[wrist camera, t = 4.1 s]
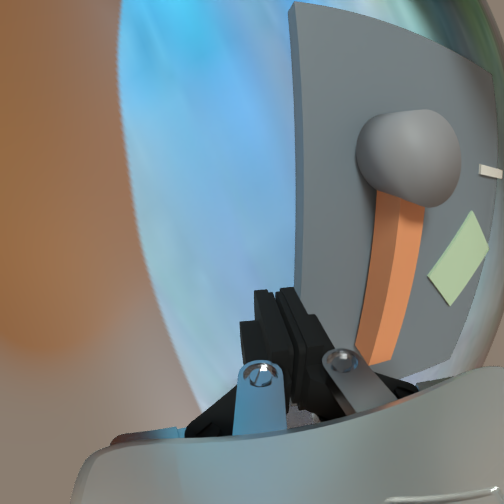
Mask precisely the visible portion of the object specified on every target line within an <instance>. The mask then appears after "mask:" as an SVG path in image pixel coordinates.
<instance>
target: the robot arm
mask: <svg viewBox="0 0 504 504" xmlns="http://www.w3.org/2000/svg"><path fill="white" fill-rule="evenodd" d="M254 311H255V320H254V321H242V322H240V338H241V349H242V357H243V364H244V366H243V367H242V368H241V369H240V371H239V374H238V382H237V385H236V386H235V387H234V388H233V389H231V390H230V391H229V392H228V393H227V394H226V395H224V396H223V397H222V398H221V399H219V400H218V401H217V402H216V403H215V404H213V405H212V406H211V407H210V408H208V409H207V410H206V411H205V412H203V413H202V414H201V415H200V416H198V417H197V418H196V419H195V420H193V421H192V422H191V423H190V424H189V425H188V426H187V427H186V428H181V429H177V427H171V428H165V429H158V430H151V431H143V432H135V433H126V434H121V435H118V436H117V437H115V438H114V439H113V440H112V442H111V443H110V446H108V447H105V448H102V449H100V450H98V451H96V452H94V453H93V454H91V455H90V456H89V457H88V458H87V459H86V460H85V462H84V463H83V465H82V467H81V468H80V471H79V473H78V476H77V478H76V481H75V484H74V488H73V492H72V495H71V500H70V504H504V368H503V367H499V366H487V367H480V368H476V369H472V370H469V371H467V372H464V373H461V374H459V375H456V376H453V377H447V378H442V379H437V380H432V381H426V382H420V383H416V385H415V386H414V385H413V384H411V383H408V382H405V381H402V380H399V379H395V378H392V377H389V376H386V375H382V374H379V373H376V372H373V370H372V369H371V368H370V367H369V366H368V365H367V364H366V363H365V361H364V360H363V359H362V358H361V357H360V356H359V355H358V354H357V353H356V352H354V351H352V350H349V349H345V348H337V349H335V347H334V346H333V344H332V342H331V340H330V339H329V337H328V335H327V333H326V332H325V330H324V328H323V326H322V324H321V323H320V321H319V319H318V317H317V316H316V315H315V314H308V313H307V311H306V309H305V308H304V306H303V304H302V302H301V300H300V298H299V296H298V295H297V293H296V291H295V289H294V287H287V288H280V292H276V294H275V297H274V295H273V293H272V292H269V293H268V290H267V289H266V290H254ZM290 398H291V402H292V404H296V403H297V406H298V409H299V410H307V411H310V412H312V418H313V421H314V422H315V424H311V425H306V426H301V427H295V428H290V429H287V422H286V414H287V413H288V411H289V402H290Z"/></svg>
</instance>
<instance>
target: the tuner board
mask: <svg viewBox="0 0 504 504" xmlns="http://www.w3.org/2000/svg"><path fill="white" fill-rule="evenodd" d="M288 20H289V32H290V44H291V59H292V75H293V94H294V119H295V158H296V232H295V273H294V289H295V291H296V293H297V295H298V296H299V298H300V300H301V302H302V304H303V306H304V308H305V309H306V311H307V313H308V314H315V315H316V316H317V317H318V319H319V321H320V323H321V324H322V326H323V328H324V330H325V332H326V333H327V335H328V337H329V339H330V340H331V342H332V344H333V346H334V347H335V349H337V348H345V349H349V350H352V351H354V352H356V353H357V354H358V355H359V356H360V357H361V358H362V359H363V360H364V358H363V357H362V355H361V354H360V352H359V350H358V349H357V347H356V346H355V343H356V338H357V334H358V329H359V324H360V319H361V314H362V309H363V304H364V298H365V292H366V286H367V280H368V274H369V267H370V259H371V251H372V243H373V233H374V223H375V211H376V196H377V190H376V189H374V188H373V187H372V186H370V185H369V184H368V182H367V181H366V180H365V178H364V177H363V175H362V173H361V171H360V169H359V166H358V162H357V157H356V144H357V139H358V135H359V133H360V131H361V129H362V127H363V126H364V124H365V123H366V122H367V121H368V120H369V119H371V118H372V117H374V116H377V115H380V114H386V113H394V112H402V111H412V110H422V109H427V110H432V111H435V112H437V113H438V114H440V115H441V116H443V117H444V118H445V119H446V120H447V121H448V123H449V124H450V125H451V127H452V128H453V130H454V132H455V134H456V136H457V139H458V142H459V146H460V151H461V173H460V177H459V181H458V184H457V186H456V188H455V190H454V192H453V194H452V195H451V196H450V198H449V199H448V200H447V201H446V202H444V203H443V204H441V205H439V206H437V207H432V208H428V207H425V212H424V220H423V228H422V235H421V242H420V248H419V254H418V259H417V264H416V270H415V274H414V279H413V284H412V288H411V292H410V296H409V300H408V304H407V308H406V312H405V316H404V319H403V323H402V326H401V329H400V333H399V336H398V339H397V342H396V345H395V348H394V351H393V354H392V357H391V360H388V361H384V362H381V363H377V364H374V365H370V366H369V367H370V368H371V369H372V370H373V372H376V373H379V374H382V375H386V376H389V377H392V378H395V379H401V378H404V377H406V376H409V375H412V374H415V373H417V372H420V371H422V370H425V369H427V368H430V367H432V366H435V365H437V364H439V363H442V362H444V361H446V360H449V359H450V357H451V355H452V353H453V350H454V348H455V346H456V344H457V341H458V339H459V337H460V334H461V332H462V329H463V327H464V324H465V321H466V319H467V316H468V313H469V311H470V308H471V305H472V302H473V299H474V296H475V292H476V289H477V286H478V282H479V279H480V275H481V272H482V268H483V264H484V260H485V255H486V253H487V252H488V250H489V247H488V241H489V236H490V231H491V225H492V219H493V212H494V204H495V195H496V183H497V178H500V179H502V173H503V170H500V169H497V166H498V130H497V113H496V102H495V94H494V86H493V79H492V74H491V73H489V72H488V71H486V70H485V69H483V68H482V67H480V66H478V65H477V64H475V63H473V62H472V61H470V60H468V59H467V58H465V57H463V56H461V55H460V54H458V53H456V52H454V51H452V50H450V49H448V48H446V47H445V46H443V45H440V44H438V43H436V42H434V41H432V40H430V39H428V38H426V37H423V36H421V35H419V34H416V33H414V32H411V31H409V30H406V29H404V28H401V27H398V26H396V25H393V24H390V23H387V22H384V21H381V20H378V19H375V18H372V17H368V16H365V15H361V14H357V13H354V12H350V11H345V10H341V9H337V8H332V7H327V6H322V5H316V4H310V3H303V2H295V1H294V3H293V4H292V6H291V8H290V9H289V11H288ZM364 361H365V360H364ZM365 363H366V361H365ZM366 364H367V363H366ZM367 365H368V364H367ZM290 404H291V406H297V403H296V404H292V402H291V398H290Z"/></svg>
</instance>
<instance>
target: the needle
mask: <svg viewBox="0 0 504 504" xmlns="http://www.w3.org/2000/svg"><path fill="white" fill-rule="evenodd" d="M356 157H357V162H358V166H359V169H360V171H361V173H362V175H363V177H364V178H365V180H366V181H367V182H368V184H369V185H370V186H372V187H373V188H374V189H376V190H377V196H376V211H375V223H374V233H373V243H372V251H371V259H370V267H369V274H368V280H367V286H366V292H365V298H364V304H363V309H362V314H361V319H360V324H359V329H358V334H357V338H356V343H355V346H356V347H357V349H358V350H359V352H360V354H361V355H362V357H363V358H364V360H365V361H366V363H367V364H368V366H370V365H374V364H377V363H381V362H384V361H388V360H391V357H392V354H393V351H394V348H395V345H396V342H397V339H398V336H399V333H400V329H401V326H402V323H403V319H404V316H405V312H406V308H407V304H408V300H409V296H410V292H411V288H412V284H413V279H414V274H415V270H416V264H417V259H418V254H419V248H420V242H421V235H422V228H423V220H424V212H425V207H428V208H432V207H437V206H439V205H441V204H443V203H444V202H446V201H447V200H448V199H449V198H450V196H451V195H452V194H453V192H454V190H455V188H456V186H457V184H458V181H459V177H460V173H461V151H460V146H459V142H458V139H457V136H456V134H455V132H454V130H453V128H452V127H451V125H450V124H449V123H448V121H447V120H446V119H445V118H444V117H443V116H441V115H440V114H438V113H437V112H435V111H432V110H427V109H422V110H412V111H402V112H394V113H386V114H380V115H377V116H374V117H372V118H371V119H369V120H368V121H367V122H366V123H365V124H364V126H363V127H362V129H361V131H360V133H359V135H358V139H357V144H356Z"/></svg>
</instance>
